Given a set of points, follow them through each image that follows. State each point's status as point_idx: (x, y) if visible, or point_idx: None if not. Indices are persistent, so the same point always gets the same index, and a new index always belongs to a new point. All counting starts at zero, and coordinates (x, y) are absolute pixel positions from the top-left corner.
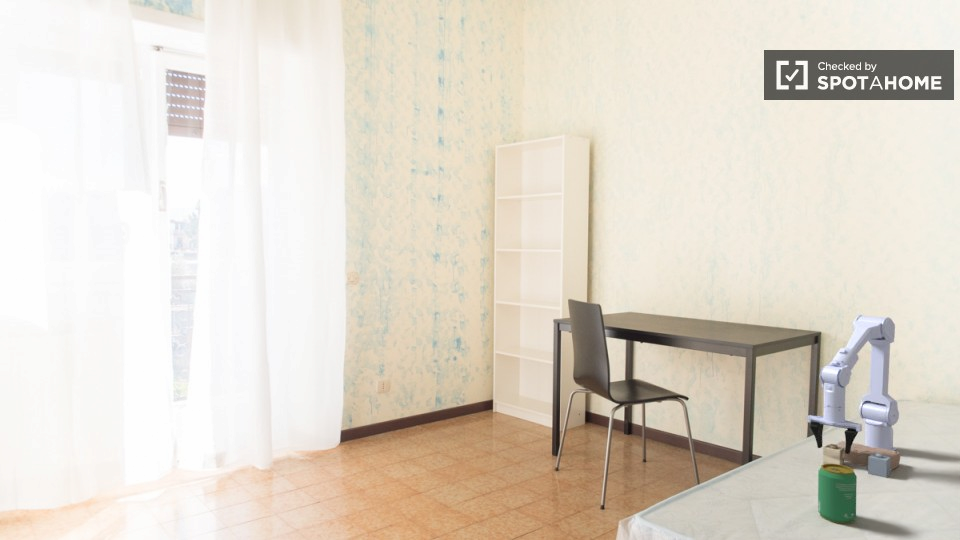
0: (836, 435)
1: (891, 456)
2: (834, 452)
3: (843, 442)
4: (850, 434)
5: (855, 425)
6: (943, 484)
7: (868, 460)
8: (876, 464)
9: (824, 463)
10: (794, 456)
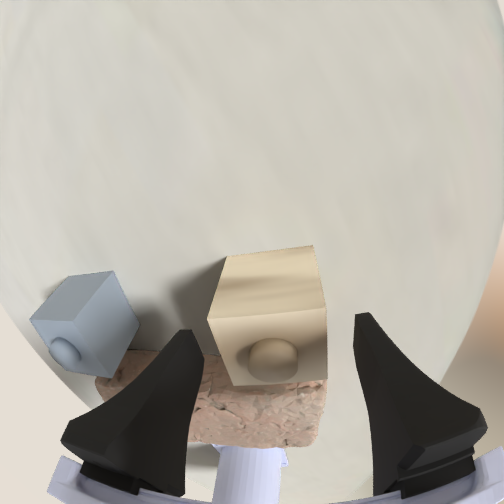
0: (365, 461)
1: (102, 395)
2: (244, 304)
3: (301, 438)
4: (77, 427)
5: (66, 498)
6: (23, 327)
7: (82, 309)
8: (65, 302)
9: (305, 247)
10: (453, 243)
